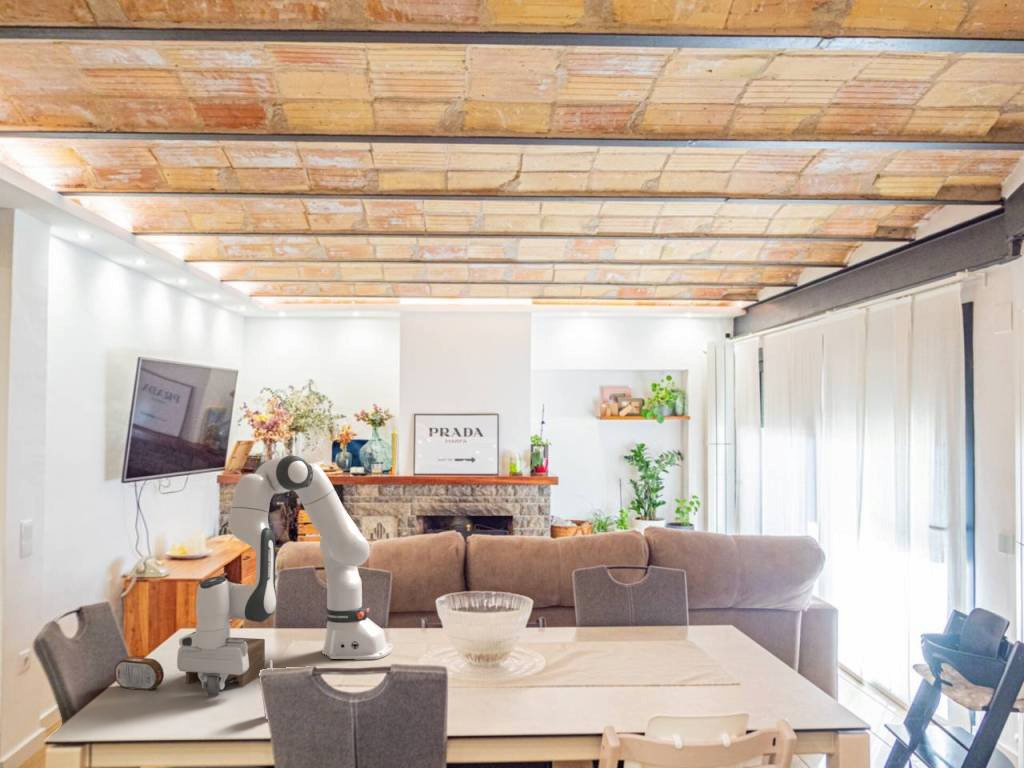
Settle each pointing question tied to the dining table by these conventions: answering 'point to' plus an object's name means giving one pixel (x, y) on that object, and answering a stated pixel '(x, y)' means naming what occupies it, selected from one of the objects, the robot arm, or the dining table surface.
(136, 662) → the tin
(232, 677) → the pull block
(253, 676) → the shelf unit
